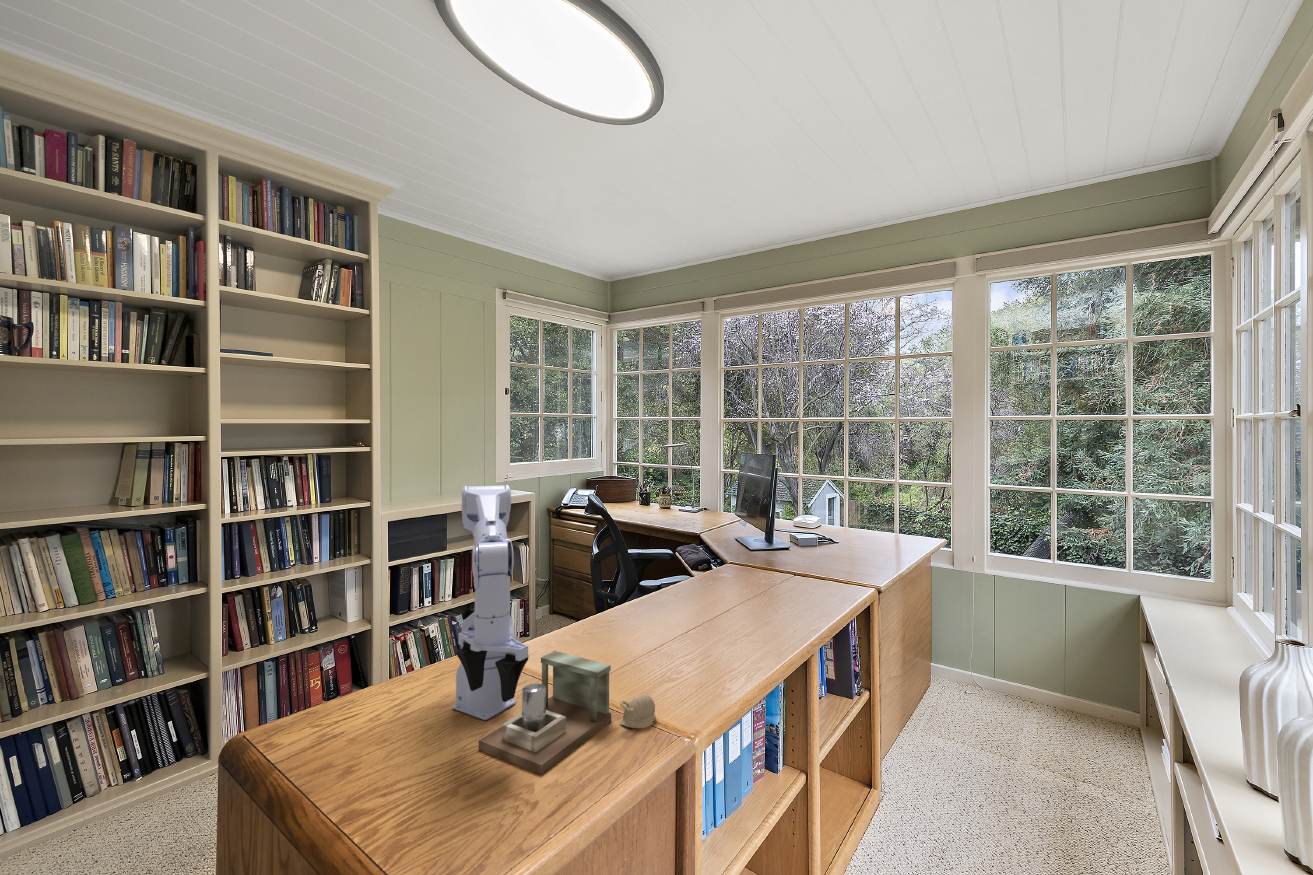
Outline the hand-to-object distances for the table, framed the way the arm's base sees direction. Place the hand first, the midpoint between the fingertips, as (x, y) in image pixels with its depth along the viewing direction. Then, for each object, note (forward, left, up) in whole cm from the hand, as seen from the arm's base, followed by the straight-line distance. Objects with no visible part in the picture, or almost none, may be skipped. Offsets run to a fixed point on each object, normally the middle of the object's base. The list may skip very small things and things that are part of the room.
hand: (492, 693), depth 92 cm
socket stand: (+5, +9, -9) cm, 14 cm away
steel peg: (+5, +5, -8) cm, 11 cm away
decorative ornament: (+17, +20, -10) cm, 28 cm away
